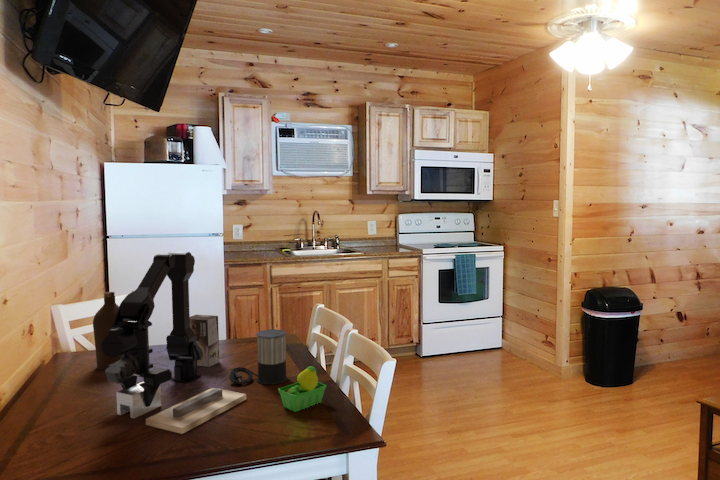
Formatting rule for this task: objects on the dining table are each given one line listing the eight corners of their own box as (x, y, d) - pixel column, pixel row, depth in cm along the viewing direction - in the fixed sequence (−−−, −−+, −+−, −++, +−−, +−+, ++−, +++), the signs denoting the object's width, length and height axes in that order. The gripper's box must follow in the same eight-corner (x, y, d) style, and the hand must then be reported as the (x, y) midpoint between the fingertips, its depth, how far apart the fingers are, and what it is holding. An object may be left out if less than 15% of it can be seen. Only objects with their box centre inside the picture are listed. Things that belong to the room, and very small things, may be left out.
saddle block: (145, 402, 144) (144, 381, 144) (161, 405, 141) (160, 384, 141) (117, 414, 136) (116, 391, 136) (133, 418, 133) (132, 395, 133)
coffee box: (220, 361, 180) (219, 315, 179) (209, 367, 174) (207, 319, 173) (198, 359, 183) (196, 313, 182) (186, 365, 177) (184, 317, 176)
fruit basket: (310, 395, 148) (309, 356, 147) (330, 404, 142) (330, 363, 141) (277, 407, 140) (276, 365, 139) (297, 416, 134) (296, 373, 133)
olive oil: (91, 372, 170) (87, 296, 168) (99, 362, 181) (96, 290, 179) (126, 369, 172) (122, 294, 171) (132, 360, 183) (129, 289, 181)
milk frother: (293, 379, 161) (292, 332, 160) (250, 393, 150) (249, 342, 149) (265, 369, 171) (265, 325, 170) (223, 382, 160) (222, 334, 159)
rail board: (212, 392, 151) (212, 380, 151) (246, 399, 146) (246, 387, 145) (145, 424, 129) (145, 411, 129) (182, 434, 124) (181, 419, 124)
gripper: (85, 350, 134) (88, 409, 136) (137, 359, 126) (139, 422, 127) (122, 339, 144) (124, 395, 145) (172, 347, 136) (174, 406, 137)
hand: (139, 404), depth 139 cm, fingers closed on saddle block, 6 cm apart
